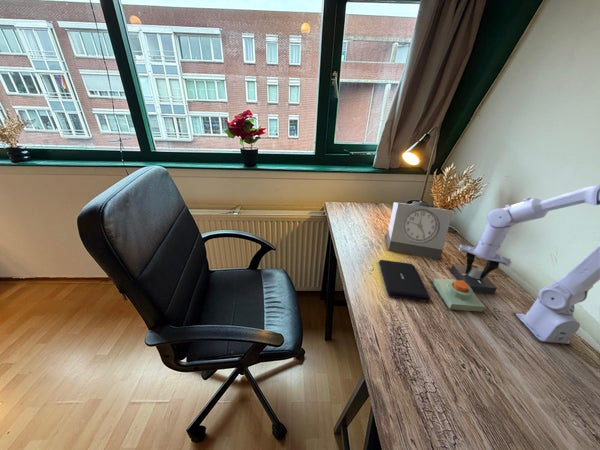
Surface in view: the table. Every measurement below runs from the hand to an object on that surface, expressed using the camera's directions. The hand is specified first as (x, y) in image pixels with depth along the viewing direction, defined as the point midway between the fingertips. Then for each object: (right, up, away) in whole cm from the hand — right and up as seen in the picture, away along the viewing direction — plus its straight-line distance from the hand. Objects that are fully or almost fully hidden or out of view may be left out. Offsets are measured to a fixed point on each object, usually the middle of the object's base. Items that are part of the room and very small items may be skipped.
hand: (474, 274), depth 87 cm
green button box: (-11, -6, -6) cm, 14 cm away
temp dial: (0, 0, 0) cm, 0 cm away
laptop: (-26, -2, -1) cm, 26 cm away
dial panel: (0, -3, +1) cm, 3 cm away
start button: (-10, -3, -8) cm, 13 cm away
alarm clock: (-13, +9, +21) cm, 26 cm away
